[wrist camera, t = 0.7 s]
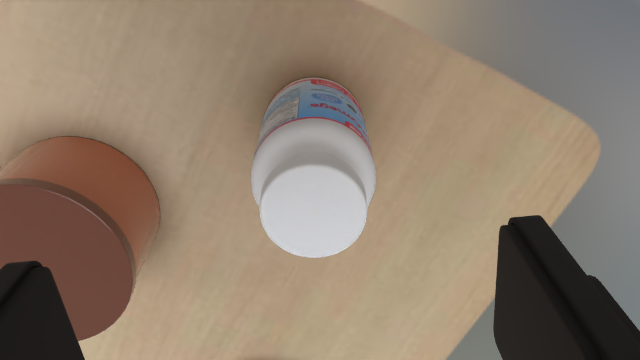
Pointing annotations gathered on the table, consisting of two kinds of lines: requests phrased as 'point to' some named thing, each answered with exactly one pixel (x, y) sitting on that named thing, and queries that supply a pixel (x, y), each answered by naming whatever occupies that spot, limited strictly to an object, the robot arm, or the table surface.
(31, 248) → the canister
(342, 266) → the table surface
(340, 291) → the table surface
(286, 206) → the pill bottle
